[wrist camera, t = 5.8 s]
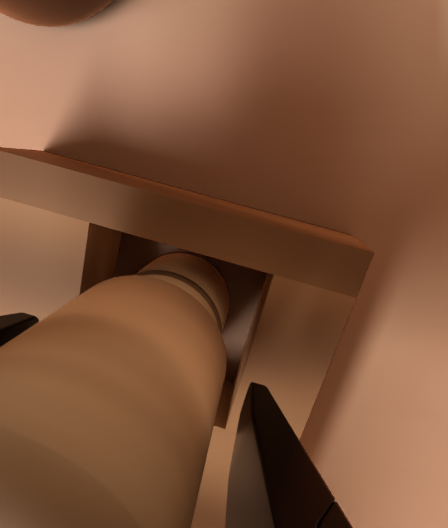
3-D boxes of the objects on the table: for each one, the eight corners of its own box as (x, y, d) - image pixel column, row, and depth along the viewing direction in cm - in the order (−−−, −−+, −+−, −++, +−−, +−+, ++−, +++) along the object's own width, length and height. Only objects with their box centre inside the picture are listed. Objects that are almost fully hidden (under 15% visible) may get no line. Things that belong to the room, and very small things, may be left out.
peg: (223, 366, 13) (134, 732, 5) (116, 334, 13) (-156, 623, 5) (254, 261, 12) (211, 495, 3) (135, 227, 12) (-187, 365, 4)
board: (230, 562, 16) (223, 631, 14) (11, 488, 17) (-33, 542, 14) (352, 235, 11) (374, 253, 9) (41, 150, 12) (-17, 145, 9)
